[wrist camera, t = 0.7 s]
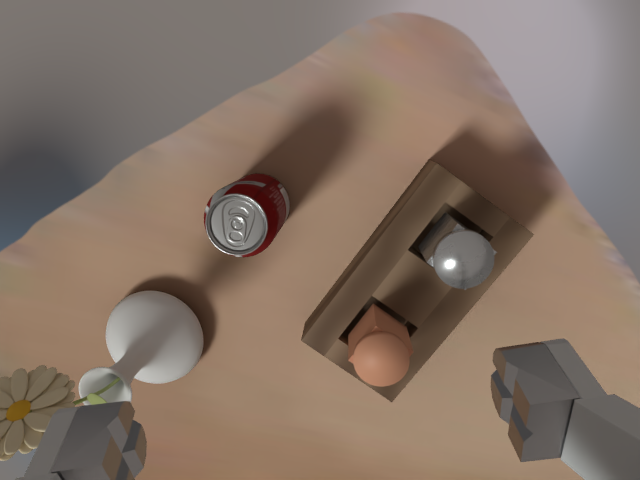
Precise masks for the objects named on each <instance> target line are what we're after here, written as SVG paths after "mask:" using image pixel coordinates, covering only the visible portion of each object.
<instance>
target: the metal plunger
mask: <svg viewBox="0 0 640 480" xmlns="http://www.w3.org/2000/svg"><path fill="white" fill-rule="evenodd" d="M418 248H419V249H420V251H421V253H422V255H423V257H424V259H425V260H426V262H427V263H428V264H429V265H431V266H432V267H434V269H435V271H436V273H437V275H438V276H439V278H440V279H441V280H442V281H443V282H444V283H446V284H447V285H449V286H451V287H454V288H459V289H464V290H466V289H467V288H471V287H474V286H477V285H479V284H480V283H482V282H483V281H484V280H485V279H486V278H487V277H488V276H489V275H490V273H491V271H492V269H493V266H494V255H495V254H496V253H497V252H496V251H495V250H494V249H493V248H492V247H491V245H490V243H489V242H488V241H487V240H486V239H485V238H484V237H483V236H482V235H480V234H479V233H477V232H475V231H473V230H469V229H468V228H467V227H465V226H464V225H463V224H461V223H460V222H458V221H457V220H456V219H454V218H453V217H452V216H450V215H449V214H447V213H446V212H445V213H444V214H443V215H442V217H441V218H440V219H439V221H438V222H437V223H436V224H435V226H434V227H433V228H432V229H431V231H430V232H429V233H428V234H427V236H426V237H425V238H424V240H423V241H422V242H421V243H420V245H419V246H418Z"/></svg>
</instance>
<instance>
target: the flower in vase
mask: <svg viewBox="0 0 640 480" xmlns="http://www.w3.org/2000/svg"><path fill="white" fill-rule="evenodd" d="M106 342H107V347H108V350H109V352H110V354H111V356H112V358H113V360H114V361H115V364H114V365H113V366H111V367H109V368H108V367H97V368H93V369H91V370H89V371H87V372H86V373H85V374H84V375H83V376H82V378H81V380H80V383H79V395H80V398H81V399H79V400H76V401H74V402H72V401H73V399H74V397H75V393H74V392H70V391H71V390H72V389H73V388H74V386H75V382H74V381H72V380H70V381H69V376H68V375H63V374H62V373H58V374H57V369H56V368H54V367H52V368H49V369H47V367H46V366H45V365H41V366H39V367H37V368H36V369H35V370H32V371H30V372H29V373H28V374H27V372H26V370H25V369H23V368H20V369H17V370H16V371H15V372H14V373H13V375H12V377H10V378H8V377H1V378H0V460H1V461H6V460H8V459H10V458H11V457H12V456H13V455H14V454H15V453H16V452H17V450H19V451H20V452H21V453H23V454H26V453H29V452H30V451H32V450H33V449H35V448H37V447H38V445H39V443H40V441H41V439H42V437H43V434H44V432H45V430H46V428H47V426H48V424H49V421H50V419H51V417H52V415H53V414H54V413H55V412H56V411H57V410H58V409H62V408H71V407H75V405H77V404H79V403H82V402H83V403H84V404H85V405H94V404H102V403H111V402H120V401H130V403H131V399H132V389H131V386H130V384H131V382H132V380H133V378H135V379H138V380H140V381H143V382H148V383H156V384H158V383H167V382H171V381H174V380H177V379H179V378H181V377H183V376H185V375H186V374H188V373H189V372H190V371H191V370H192V369H193V368H194V367H195V366H196V364H197V362H198V361H199V359H200V357H201V354H202V350H203V332H202V328H201V325H200V323H199V321H198V319H197V317H196V315H195V314H194V313H193V311H192V310H191V309H190V308H189V307H188V306H187V305H186V304H185V303H184V302H182V301H181V300H179V299H178V298H176V297H174V296H172V295H170V294H167V293H164V292H159V291H141V292H137V293H134V294H131V295H129V296H127V297H126V298H124V299H123V300H121V301H120V302H119V303H118V304H117V305H116V306H115V308H114V309H113V311H112V312H111V314H110V317H109V319H108V323H107V328H106Z"/></svg>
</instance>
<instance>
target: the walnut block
mask: <svg viewBox="0 0 640 480" xmlns="http://www.w3.org/2000/svg"><path fill="white" fill-rule="evenodd" d="M445 212H446V213H447V214H449V215H450V216H452V217H453V218H454V219H456V220H457V221H458V222H460V223H461V224H463V225H464V226H465V227H467V228H468V229H469V230H473V231H475V232H477V233H479V234H480V235H482V236H483V237H484V238H485V239H486V240H487V241H488V242H489V243H490V245H491V247H492V248H493V249H494V250H495V251H496V252H497V253H496V254H495V255H494V266H493V269H492V271H491V273H490V275H489V276H488V277H487V278H486V279H485V280H484V281H483V282H482V283H480V284H479V285H477V286H474V287H471V288H467V289H466V290H464V289H459V288H454V287H451V286H449V285H447V284H446V283H444V282H443V281H442V280H441V279H440V278H439V276H438V275H437V273H436V271H435V269H434V267H432V266H431V265H429V264H428V263H427V262H426V260H425V259H424V257H423V255H422V253H421V251H420V249H419V248H418V246H419V245H420V243H421V242H422V241H423V240H424V238H425V237H426V236H427V234H428V233H429V232H430V231H431V229H432V228H433V227H434V226H435V224H436V223H437V222H438V221H439V219H440V218H441V217H442V215H443V214H444V213H445ZM533 235H534V234H533V233H531V232H530V231H529V230H527V229H526V228H524V227H523V226H522V225H520V224H519V223H518V222H516V221H515V220H514V219H512V218H511V217H510V216H508V215H507V214H505V213H504V212H503V211H501V210H500V209H499V208H497V207H496V206H495V205H493V204H492V203H491V202H489V201H488V200H486V199H485V198H484V197H482V196H481V195H480V194H478V193H477V192H476V191H474V190H473V189H472V188H470V187H469V186H467V185H466V184H465V183H463V182H462V181H461V180H459V179H458V178H457V177H455V176H454V175H453V174H451V173H450V172H448V171H447V170H446V169H444V168H443V167H442V166H440V165H439V164H438V163H436V162H434V161H432V160H428V161H427V163H426V164H425V165H424V167H423V168H422V169H421V170H420V172H419V173H418V174H417V176H416V177H415V178H414V180H413V181H412V182H411V184H410V185H409V186H408V188H407V189H406V190H405V192H404V193H403V194H402V196H401V197H400V198H399V199H398V201H397V202H396V203H395V205H394V206H393V207H392V209H391V210H390V211H389V213H388V214H387V215H386V217H385V218H384V219H383V221H382V222H381V223H380V225H379V226H378V227H377V228H376V230H375V231H374V232H373V234H372V235H371V236H370V238H369V239H368V240H367V242H366V243H365V244H364V246H363V247H362V248H361V250H360V251H359V252H358V254H357V255H356V256H355V257H354V259H353V260H352V261H351V263H350V264H349V265H348V267H347V268H346V269H345V271H344V272H343V273H342V275H341V276H340V277H339V279H338V280H337V281H336V283H335V284H334V285H333V287H332V288H331V289H330V290H329V292H328V293H327V294H326V296H325V297H324V298H323V300H322V301H321V302H320V304H319V305H318V306H317V308H316V309H315V310H314V312H313V313H312V314H311V316H310V317H309V318H308V319H307V321H306V322H305V326H304V330H303V335H302V339H301V341H302V342H304V343H305V344H307V345H308V346H310V347H311V348H313V349H314V350H316V351H317V352H319V353H320V354H322V355H323V356H325V357H326V358H328V359H329V360H330V361H332V362H333V363H335V364H336V365H338V366H339V367H341V368H342V369H344V370H345V371H347V372H348V373H350V374H351V375H353V376H354V377H355V378H357V379H358V380H360V381H361V382H363V383H364V384H366V385H367V386H369V387H370V388H372V389H373V390H375V391H376V392H378V393H379V394H380V395H382V396H383V397H385V398H386V399H388V400H389V401H391V402H392V401H393V400H394V399H395V398H396V397H397V395H398V394H399V393H400V392H401V391H402V390H403V388H404V387H405V386H406V385H407V384H408V383H409V381H410V380H411V379H412V378H413V377H414V375H415V374H416V373H417V372H418V371H419V370H420V368H421V367H422V366H423V365H424V364H425V362H426V361H427V360H428V359H429V358H430V357H431V355H432V354H433V353H434V352H435V351H436V349H437V348H438V347H439V346H440V345H441V344H442V342H443V341H444V340H445V339H446V338H447V337H448V335H449V334H450V333H451V332H452V331H453V329H454V328H455V327H456V326H457V325H458V324H459V322H460V321H461V320H462V319H463V318H464V316H465V315H466V314H467V313H468V312H469V311H470V309H471V308H472V307H473V306H474V305H475V303H476V302H477V301H478V300H479V299H480V298H481V296H482V295H483V294H484V293H485V292H486V291H487V289H488V288H489V287H490V286H491V285H492V283H493V282H494V281H495V280H496V279H497V278H498V276H499V275H500V274H501V273H502V272H503V270H504V269H505V268H506V267H507V266H508V265H509V263H510V262H511V261H512V260H513V259H514V257H515V256H516V255H517V254H518V253H519V252H520V250H521V249H522V248H523V247H524V246H525V245H526V243H527V242H528V241H529V240H530V239H531V237H532V236H533ZM372 304H375V305H376V306H378V307H379V308H380V309H382V310H383V311H385V312H386V313H388V314H389V315H391V316H392V317H393V318H395V319H396V320H398V321H399V322H401V323H402V324H403V325H405V326H406V327H407V330H408V333H409V337H410V341H411V344H412V348H413V351H414V352H413V353H412V355H411V356H410V357H409V358H410V363H409V368H408V371H407V373H406V374H405V376H404V377H403V378H402V379H401V380H400V381H398V382H397V383H395V384H393V385H390V386H384V387H380V386H373V385H370V384H368V383H366V382H365V381H363V380H362V379H361V378H360V377H359V376H358V374H357V373H356V371H355V368H354V364H353V363H351V362H350V361H348V335H349V333H350V332H351V331H352V330H353V328H354V327H355V326H356V324H357V323H358V322H359V321H360V319H361V318H362V317H363V316H364V314H365V313H366V312H367V310H368V309H369V308H370V307H371V305H372Z"/></svg>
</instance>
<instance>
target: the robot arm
mask: <svg viewBox="0 0 640 480" xmlns="http://www.w3.org/2000/svg"><path fill="white" fill-rule="evenodd" d="M493 363H494V365H495V367H496V369H497V370H496V371H495V372H494V373H493V374H492V375H491V392H492V398H493V401H494V404H495V408H496V410H497V412H498V414H499V417H500V418H501V419H503V420H504V421H506V422H507V423H508V424H509V431H508V436H509V438H510V440H511V442H512V445H513V447H514V449H515V451H516V453H517V455H518V457H519V459H520V461H521V462H526V461H535V460H544V459H553V458H561V460H562V461H563V462H564V463H565V464H567V465H568V466H569V467H570V468H571V469H573V470H574V471H575V472H576V473H577V474H579V475H580V476H581V477H582V478H583V479H585V480H640V408H638V407H636V406H635V405H633V404H631V403H629V402H627V401H626V400H624V399H622V398H620V397H618V396H617V395H615V394H613V395H607V394H606V392H605V391H604V390H603V388H602V387H601V386H600V384H599V383H598V381H597V380H596V379H595V377H594V376H593V375H592V373H591V372H590V371H589V369H588V368H587V366H586V365H585V364H584V362H583V361H582V360H581V358H580V357H579V355H578V354H577V353H576V351H575V350H574V349H573V347H572V346H571V344H570V343H569V342H568V341H567V340H565V339H564V338H563V339H556V340H550V341H543V342H535V343H528V344H522V345H515V346H509V347H502V348H496V349H495V351H494V353H493ZM134 413H135V410H134V408H133V406H132V404H131V403H130V401H120V402H111V403H102V404H94V405H85V406H79V407H71V408H62V409H58V410H57V411H56V412H55V413H54V414H53V415H52V417H51V419H50V421H49V424H48V426H47V428H46V430H45V432H44V434H43V437H42V439H41V441H40V443H39V445H38V447H37V450H36V452H35V454H34V456H33V458H32V460H31V462H30V465H29V467H28V469H27V471H26V473H25V475H24V477H22V478H17V479H15V480H135V479H134V478H135V477H136V476H137V475H138V473H139V472H140V471H141V470H142V469H143V468H144V464H145V459H146V447H147V441H146V436H145V432H144V429H143V427H142V425H141V424H140V423H138V422H136V421H134V420H133V417H134Z"/></svg>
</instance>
